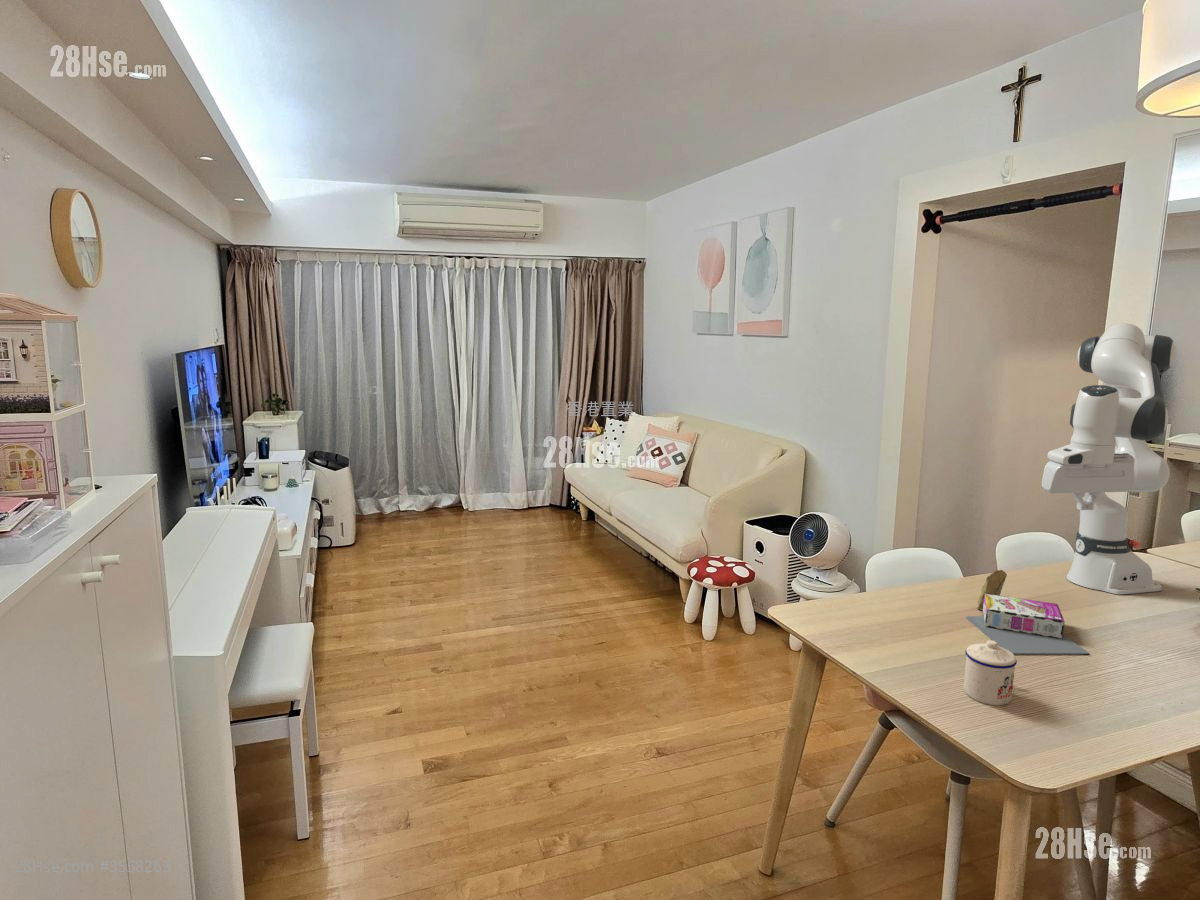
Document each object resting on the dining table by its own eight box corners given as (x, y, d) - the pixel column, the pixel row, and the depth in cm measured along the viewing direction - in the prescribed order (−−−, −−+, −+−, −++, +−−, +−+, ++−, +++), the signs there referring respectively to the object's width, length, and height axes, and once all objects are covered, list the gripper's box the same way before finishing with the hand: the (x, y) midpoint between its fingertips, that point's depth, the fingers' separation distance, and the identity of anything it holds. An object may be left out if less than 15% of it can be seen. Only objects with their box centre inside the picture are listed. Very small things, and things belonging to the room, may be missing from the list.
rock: (993, 609, 177) (1022, 598, 180) (976, 578, 180) (1004, 567, 184) (965, 619, 187) (993, 608, 190) (949, 589, 190) (976, 579, 193)
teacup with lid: (1006, 712, 135) (1012, 657, 133) (956, 695, 141) (961, 642, 139) (1020, 688, 144) (1026, 635, 142) (972, 673, 150) (977, 623, 148)
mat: (1036, 617, 177) (1037, 616, 177) (1089, 654, 157) (1089, 653, 157) (965, 617, 178) (966, 616, 177) (1009, 654, 158) (1009, 653, 158)
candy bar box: (1065, 619, 163) (986, 609, 170) (1063, 639, 164) (984, 628, 171) (1057, 602, 173) (983, 592, 180) (1055, 620, 174) (982, 610, 181)
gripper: (1125, 450, 168) (1118, 504, 171) (1040, 452, 168) (1035, 506, 171) (1145, 455, 162) (1137, 512, 165) (1057, 457, 162) (1051, 514, 165)
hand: (1084, 509), depth 168 cm, fingers closed
